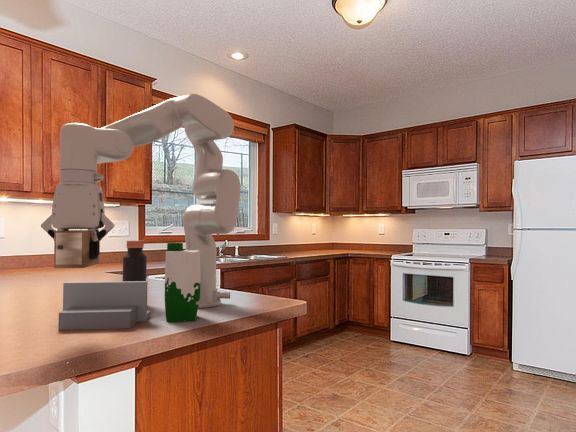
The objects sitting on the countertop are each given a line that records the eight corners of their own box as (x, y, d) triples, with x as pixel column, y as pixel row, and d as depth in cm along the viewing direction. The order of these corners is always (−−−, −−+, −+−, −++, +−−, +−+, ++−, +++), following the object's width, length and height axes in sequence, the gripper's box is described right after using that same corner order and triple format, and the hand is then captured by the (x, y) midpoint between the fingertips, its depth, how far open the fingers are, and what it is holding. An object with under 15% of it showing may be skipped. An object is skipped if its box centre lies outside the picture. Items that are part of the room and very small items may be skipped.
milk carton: (167, 315, 107) (168, 242, 107) (200, 314, 108) (201, 242, 109) (162, 323, 98) (163, 243, 99) (198, 322, 99) (199, 243, 100)
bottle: (146, 307, 118) (147, 241, 118) (121, 308, 115) (123, 241, 116) (145, 303, 124) (146, 240, 125) (122, 304, 121) (123, 240, 122)
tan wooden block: (98, 263, 93) (99, 230, 93) (82, 268, 83) (82, 230, 83) (72, 264, 92) (72, 230, 92) (52, 268, 82) (52, 230, 83)
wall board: (150, 316, 106) (150, 279, 106) (138, 328, 93) (139, 285, 93) (71, 318, 103) (72, 280, 103) (49, 330, 91) (50, 287, 91)
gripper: (123, 181, 93) (122, 257, 93) (46, 181, 91) (45, 258, 91) (113, 178, 86) (112, 260, 85) (29, 177, 84) (28, 261, 83)
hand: (78, 258), depth 88 cm, fingers closed on tan wooden block, 6 cm apart
